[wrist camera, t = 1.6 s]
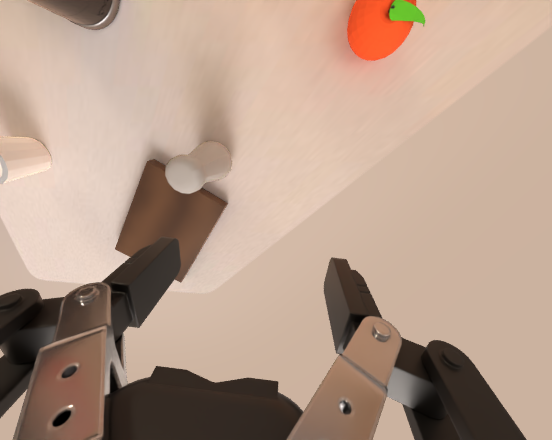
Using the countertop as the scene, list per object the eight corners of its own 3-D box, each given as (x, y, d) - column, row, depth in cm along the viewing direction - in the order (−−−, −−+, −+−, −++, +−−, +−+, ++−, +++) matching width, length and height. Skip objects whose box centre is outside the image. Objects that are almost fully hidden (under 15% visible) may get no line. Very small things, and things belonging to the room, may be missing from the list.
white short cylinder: (54, 143, 36) (3, 147, 29) (56, 180, 39) (10, 192, 32) (11, 126, 35) (-51, 127, 29) (16, 165, 38) (-40, 174, 32)
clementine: (416, 4, 26) (457, -35, 20) (393, 72, 29) (423, 57, 22) (350, -8, 26) (370, -51, 19) (335, 61, 29) (348, 44, 22)
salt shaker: (231, 180, 37) (203, 208, 25) (198, 171, 36) (154, 195, 24) (238, 145, 34) (210, 158, 22) (202, 135, 34) (155, 142, 22)
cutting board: (122, 243, 43) (114, 249, 42) (154, 159, 36) (146, 161, 34) (185, 276, 46) (181, 282, 44) (228, 203, 38) (224, 207, 37)
